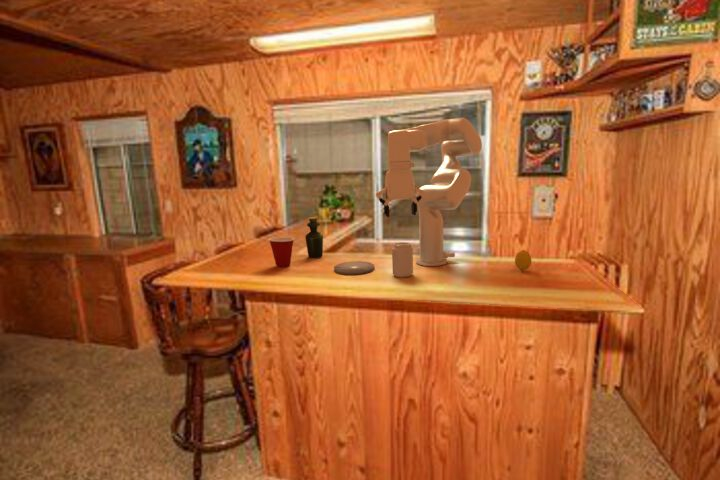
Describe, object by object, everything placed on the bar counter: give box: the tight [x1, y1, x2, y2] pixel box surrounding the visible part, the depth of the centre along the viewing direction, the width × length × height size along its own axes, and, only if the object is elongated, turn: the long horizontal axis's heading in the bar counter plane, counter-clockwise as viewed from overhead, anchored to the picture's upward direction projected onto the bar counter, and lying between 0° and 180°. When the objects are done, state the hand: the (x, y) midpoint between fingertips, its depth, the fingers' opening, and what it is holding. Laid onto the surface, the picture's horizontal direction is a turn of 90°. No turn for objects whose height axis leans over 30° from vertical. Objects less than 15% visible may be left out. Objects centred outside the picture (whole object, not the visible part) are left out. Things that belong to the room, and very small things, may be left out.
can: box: [391, 242, 414, 279], centre depth 143 cm, size 8×8×12 cm
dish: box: [333, 260, 375, 276], centre depth 155 cm, size 16×16×1 cm
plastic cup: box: [268, 236, 295, 268], centre depth 164 cm, size 11×11×12 cm
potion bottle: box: [304, 216, 324, 259], centre depth 177 cm, size 8×8×18 cm
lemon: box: [514, 249, 532, 272], centre depth 142 cm, size 6×6×8 cm
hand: (400, 215), depth 140 cm, fingers open, 9 cm apart
